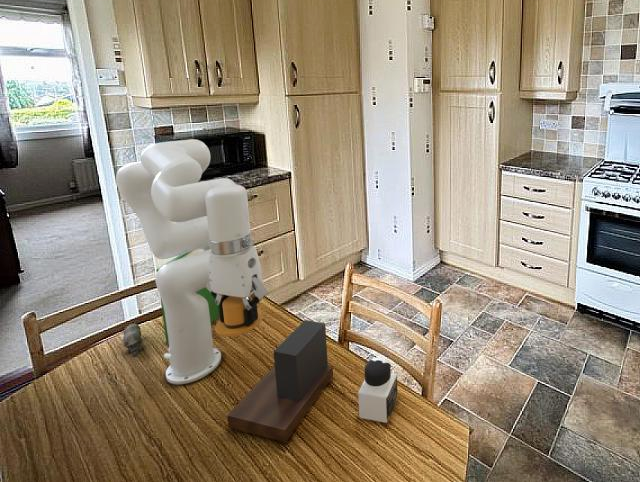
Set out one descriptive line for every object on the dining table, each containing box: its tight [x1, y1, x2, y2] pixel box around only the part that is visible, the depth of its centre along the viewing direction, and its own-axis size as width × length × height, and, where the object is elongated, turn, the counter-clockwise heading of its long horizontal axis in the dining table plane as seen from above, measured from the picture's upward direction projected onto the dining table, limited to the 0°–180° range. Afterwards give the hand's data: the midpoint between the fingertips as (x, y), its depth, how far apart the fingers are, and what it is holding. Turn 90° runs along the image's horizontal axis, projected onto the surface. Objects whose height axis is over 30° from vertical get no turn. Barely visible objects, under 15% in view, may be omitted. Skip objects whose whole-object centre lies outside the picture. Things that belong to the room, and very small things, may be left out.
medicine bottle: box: [357, 356, 399, 424], centre depth 89 cm, size 7×7×12 cm
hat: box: [215, 295, 263, 338], centre depth 82 cm, size 9×9×6 cm
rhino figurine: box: [122, 323, 143, 358], centre depth 108 cm, size 4×14×6 cm, turn 42°
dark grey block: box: [273, 319, 329, 401], centre depth 92 cm, size 6×12×12 cm, turn 166°
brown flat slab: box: [226, 364, 334, 444], centre depth 91 cm, size 15×19×4 cm
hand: (239, 319), depth 82 cm, fingers closed on hat, 5 cm apart
